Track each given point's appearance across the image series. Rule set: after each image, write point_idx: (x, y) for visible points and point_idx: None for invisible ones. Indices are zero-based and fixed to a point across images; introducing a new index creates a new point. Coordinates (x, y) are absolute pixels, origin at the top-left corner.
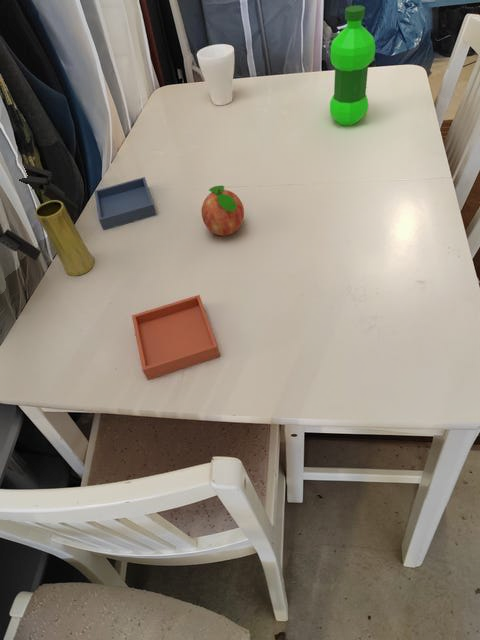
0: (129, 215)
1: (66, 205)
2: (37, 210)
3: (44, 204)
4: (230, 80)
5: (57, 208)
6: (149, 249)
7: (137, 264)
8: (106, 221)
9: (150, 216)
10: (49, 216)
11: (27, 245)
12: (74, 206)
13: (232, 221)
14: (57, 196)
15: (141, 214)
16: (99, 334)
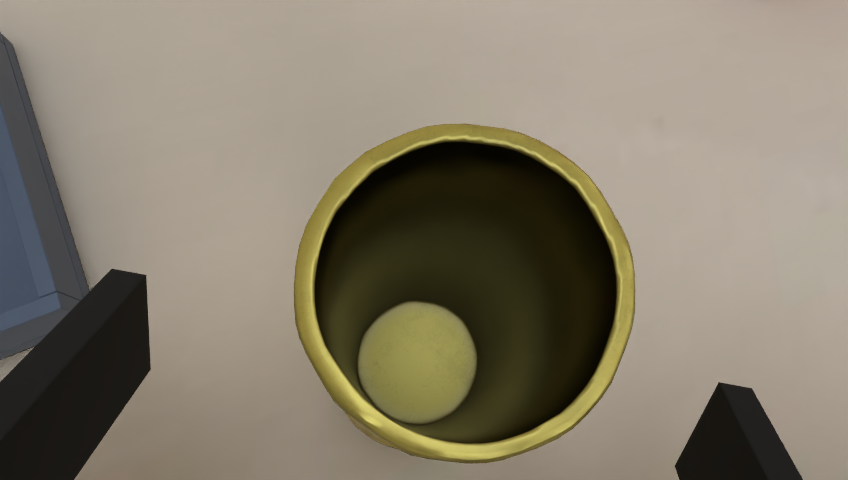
0: (25, 146)
1: (105, 375)
2: (477, 446)
3: (359, 394)
4: None
5: (323, 300)
6: (303, 30)
7: (410, 63)
8: (62, 275)
9: (20, 73)
10: (613, 217)
11: (791, 471)
12: (133, 289)
13: None
14: (36, 430)
15: (16, 94)
16: (827, 124)
